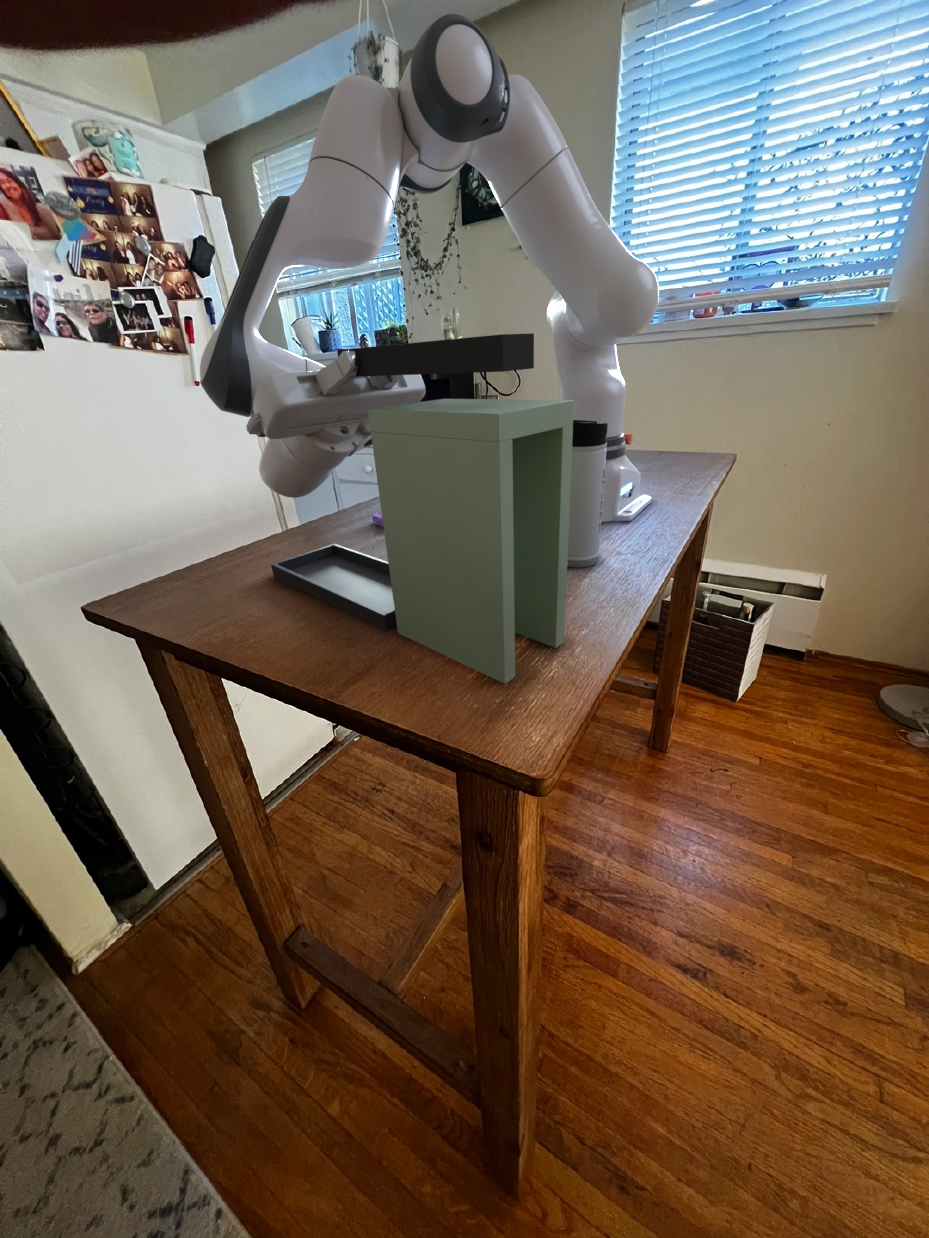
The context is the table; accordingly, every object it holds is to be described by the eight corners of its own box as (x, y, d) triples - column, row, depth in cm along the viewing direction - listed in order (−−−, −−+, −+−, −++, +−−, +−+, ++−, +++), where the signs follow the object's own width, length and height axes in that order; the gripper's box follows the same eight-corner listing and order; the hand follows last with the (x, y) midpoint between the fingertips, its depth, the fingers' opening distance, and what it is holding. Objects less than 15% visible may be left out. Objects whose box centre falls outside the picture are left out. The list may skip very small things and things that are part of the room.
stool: (458, 602, 64) (444, 398, 53) (564, 642, 54) (574, 400, 43) (397, 633, 58) (367, 409, 47) (504, 684, 48) (498, 413, 37)
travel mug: (545, 558, 76) (548, 417, 67) (581, 550, 78) (589, 412, 69) (569, 571, 71) (575, 421, 62) (607, 562, 73) (619, 416, 64)
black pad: (371, 374, 55) (368, 348, 54) (534, 368, 41) (534, 333, 40) (341, 377, 52) (336, 350, 51) (502, 371, 38) (501, 334, 37)
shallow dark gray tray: (336, 555, 82) (334, 543, 81) (453, 598, 65) (452, 583, 64) (273, 577, 76) (270, 564, 75) (386, 631, 58) (383, 615, 57)
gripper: (229, 410, 55) (265, 327, 44) (378, 392, 67) (435, 325, 56) (255, 464, 55) (297, 396, 44) (398, 436, 68) (458, 378, 57)
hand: (376, 356), depth 50 cm, fingers closed on black pad, 4 cm apart
